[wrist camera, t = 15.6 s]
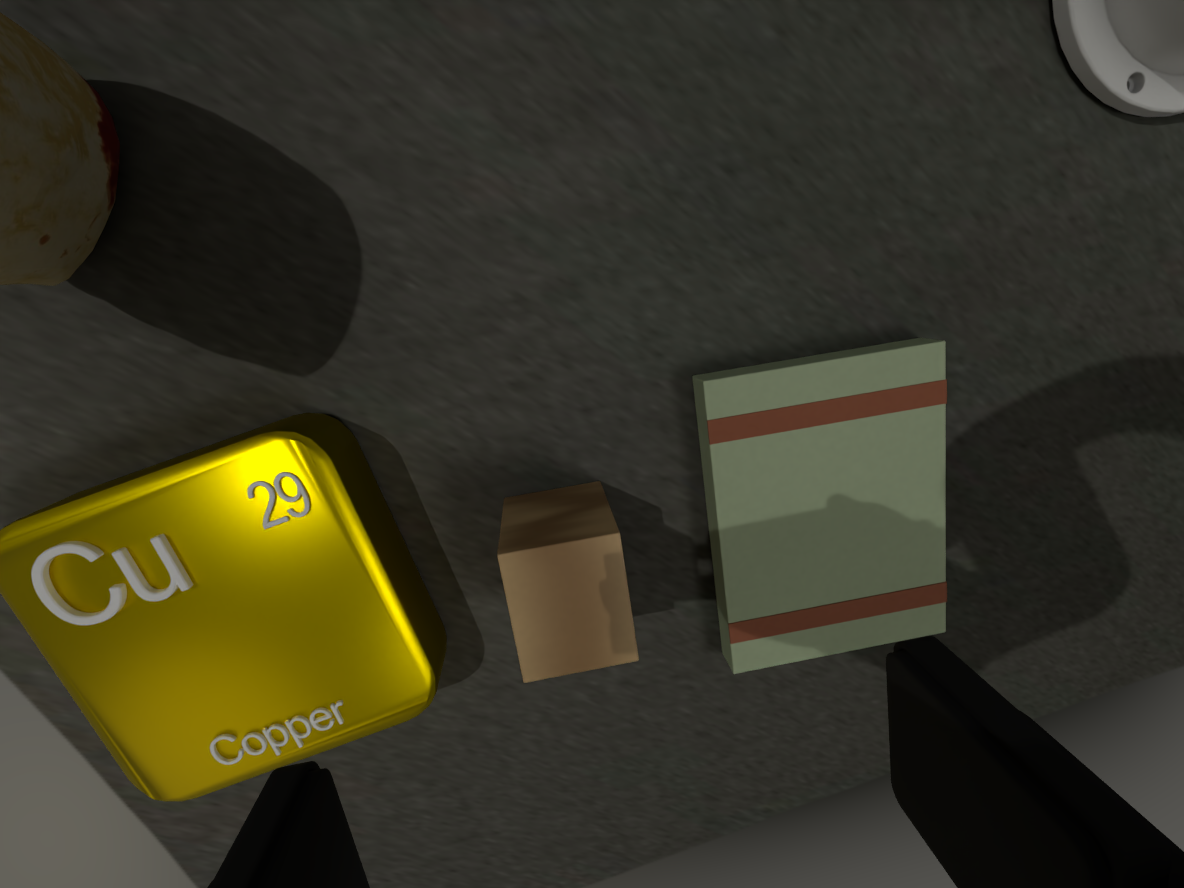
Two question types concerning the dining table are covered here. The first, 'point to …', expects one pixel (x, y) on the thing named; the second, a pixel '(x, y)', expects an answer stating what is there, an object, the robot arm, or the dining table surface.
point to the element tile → (229, 607)
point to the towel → (826, 500)
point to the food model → (50, 162)
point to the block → (565, 582)
